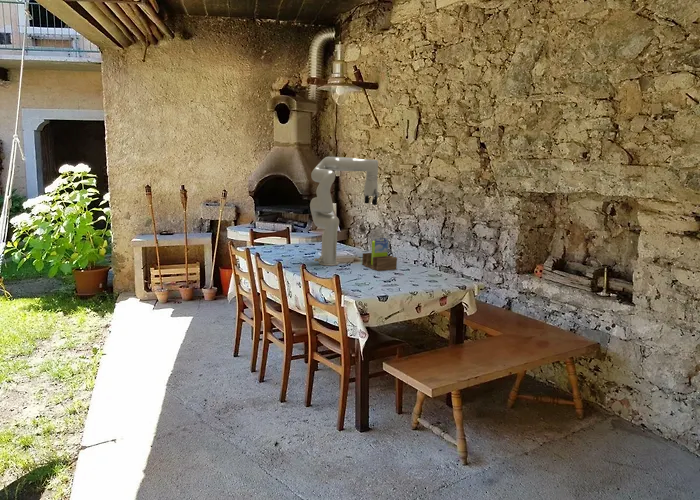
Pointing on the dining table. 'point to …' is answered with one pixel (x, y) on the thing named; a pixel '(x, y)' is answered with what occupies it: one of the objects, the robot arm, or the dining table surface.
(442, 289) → the dining table surface
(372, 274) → the dining table surface
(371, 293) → the dining table surface
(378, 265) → the rack
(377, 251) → the box
